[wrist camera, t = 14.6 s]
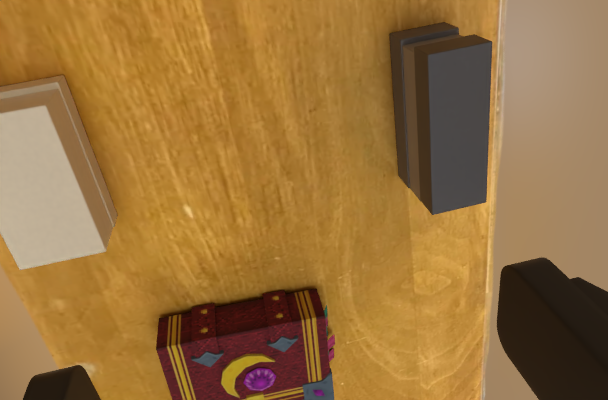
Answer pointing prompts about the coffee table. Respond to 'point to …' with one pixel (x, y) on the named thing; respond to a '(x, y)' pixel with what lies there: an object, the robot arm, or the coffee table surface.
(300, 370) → the decorative book
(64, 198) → the thin cream book
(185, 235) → the coffee table surface
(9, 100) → the beige box
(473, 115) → the grey books
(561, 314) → the robot arm
